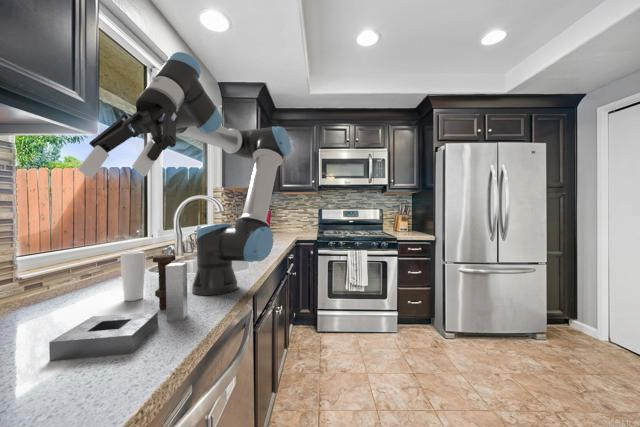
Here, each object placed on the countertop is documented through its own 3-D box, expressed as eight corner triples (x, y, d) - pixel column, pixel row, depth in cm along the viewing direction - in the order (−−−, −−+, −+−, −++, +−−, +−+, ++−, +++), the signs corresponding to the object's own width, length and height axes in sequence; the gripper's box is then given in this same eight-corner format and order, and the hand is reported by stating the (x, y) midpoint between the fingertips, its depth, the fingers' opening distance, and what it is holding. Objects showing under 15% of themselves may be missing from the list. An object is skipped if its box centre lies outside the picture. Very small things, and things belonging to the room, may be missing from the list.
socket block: (92, 331, 69) (92, 316, 69) (158, 326, 71) (157, 311, 71) (49, 360, 55) (49, 342, 55) (132, 353, 58) (132, 335, 58)
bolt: (150, 309, 85) (149, 256, 85) (166, 304, 89) (165, 254, 89) (163, 311, 82) (162, 257, 82) (179, 306, 86) (178, 255, 86)
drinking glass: (125, 297, 97) (124, 251, 97) (148, 295, 99) (147, 250, 99) (118, 303, 91) (117, 254, 91) (143, 301, 93) (142, 253, 93)
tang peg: (171, 316, 78) (170, 263, 78) (187, 314, 79) (186, 262, 79) (166, 321, 74) (165, 265, 74) (183, 320, 75) (182, 265, 75)
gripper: (105, 93, 68) (46, 162, 57) (196, 80, 61) (149, 155, 50) (130, 119, 74) (80, 186, 63) (215, 110, 67) (176, 183, 56)
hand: (110, 173), depth 57 cm, fingers open, 13 cm apart
